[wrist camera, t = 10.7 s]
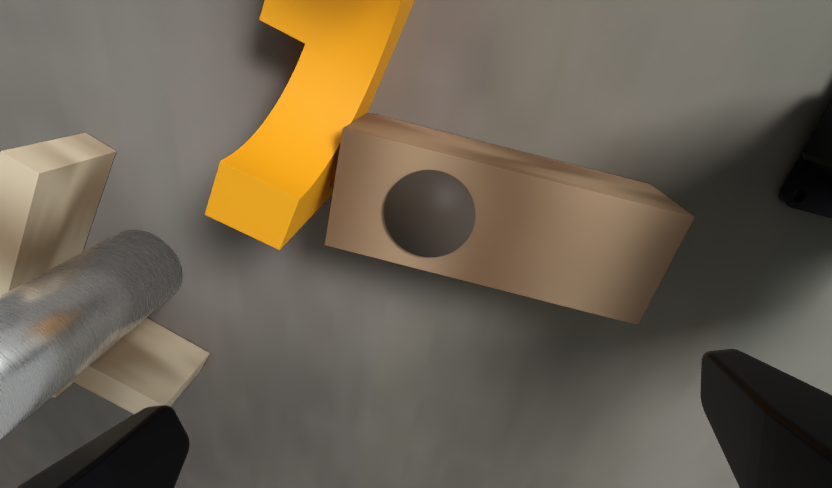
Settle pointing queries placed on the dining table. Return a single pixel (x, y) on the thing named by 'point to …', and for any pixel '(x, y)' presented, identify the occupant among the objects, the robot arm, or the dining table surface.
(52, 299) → the axle
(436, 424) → the dining table surface
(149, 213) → the dining table surface
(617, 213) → the beam
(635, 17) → the dining table surface
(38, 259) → the v block
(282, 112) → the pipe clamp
